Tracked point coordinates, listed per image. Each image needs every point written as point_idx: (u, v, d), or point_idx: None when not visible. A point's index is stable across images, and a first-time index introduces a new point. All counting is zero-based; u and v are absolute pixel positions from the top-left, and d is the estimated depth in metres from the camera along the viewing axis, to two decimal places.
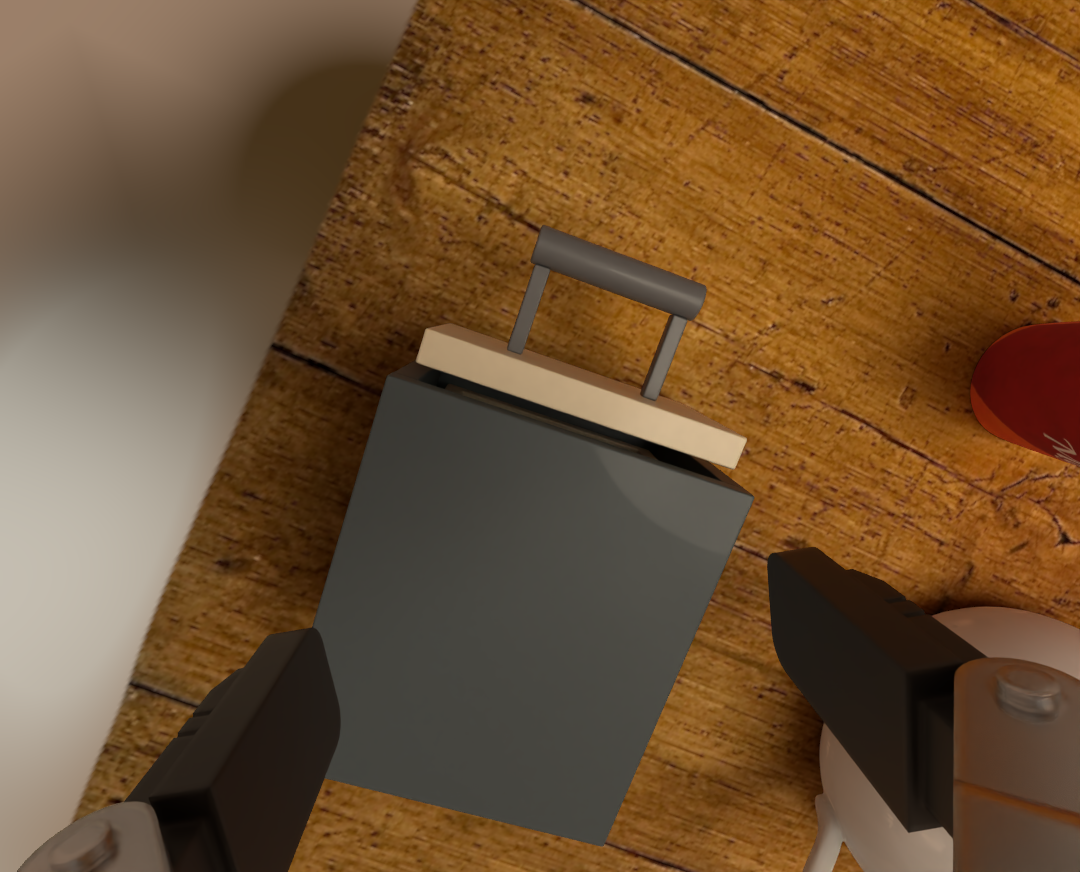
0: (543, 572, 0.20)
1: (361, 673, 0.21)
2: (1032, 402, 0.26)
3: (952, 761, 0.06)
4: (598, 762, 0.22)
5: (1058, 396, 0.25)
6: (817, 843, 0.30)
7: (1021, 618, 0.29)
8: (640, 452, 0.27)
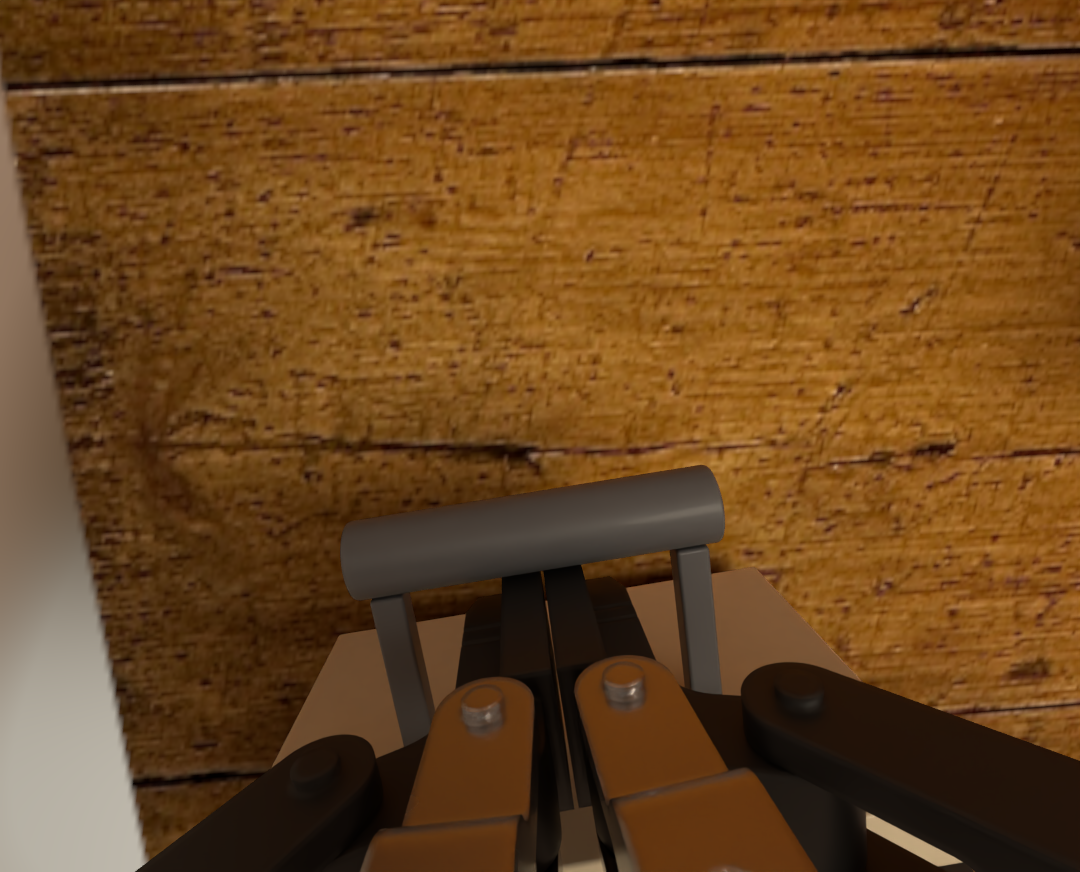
0: None
1: None
2: None
3: (587, 772, 0.07)
4: None
5: None
6: None
7: None
8: None
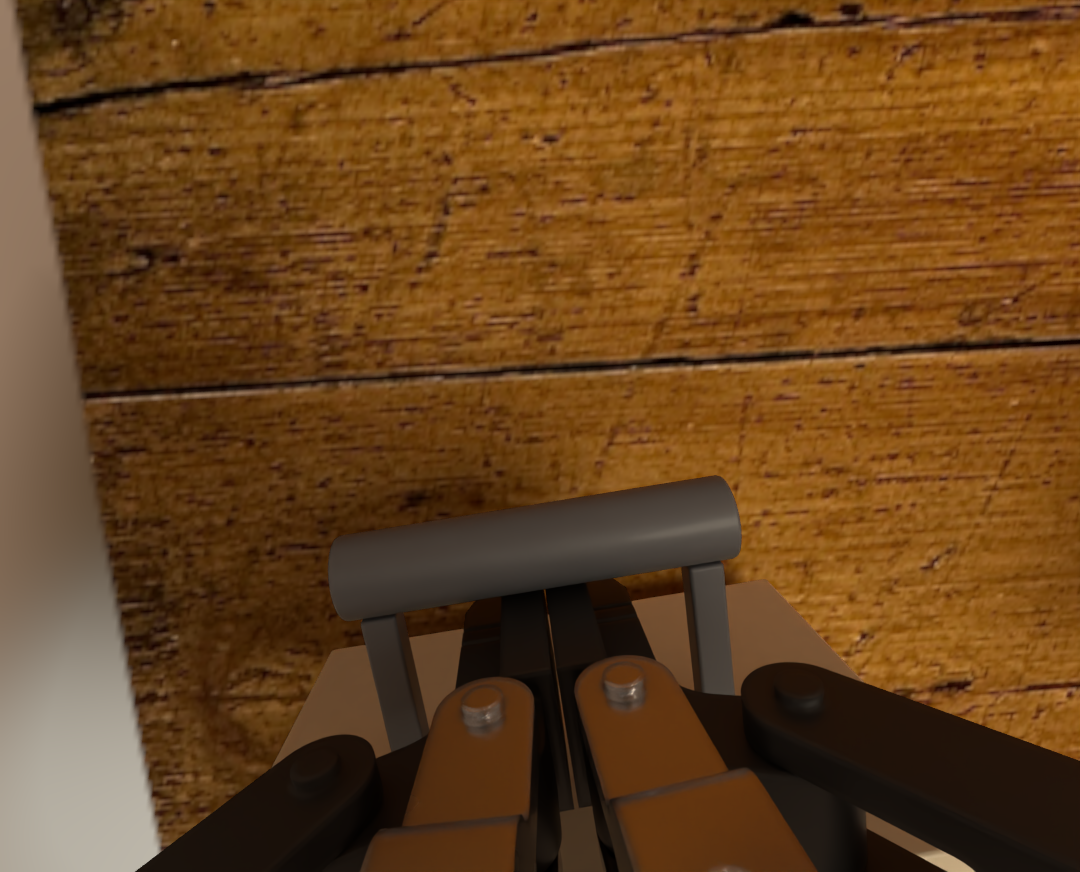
0: None
1: None
2: None
3: (587, 772, 0.07)
4: None
5: None
6: None
7: None
8: None
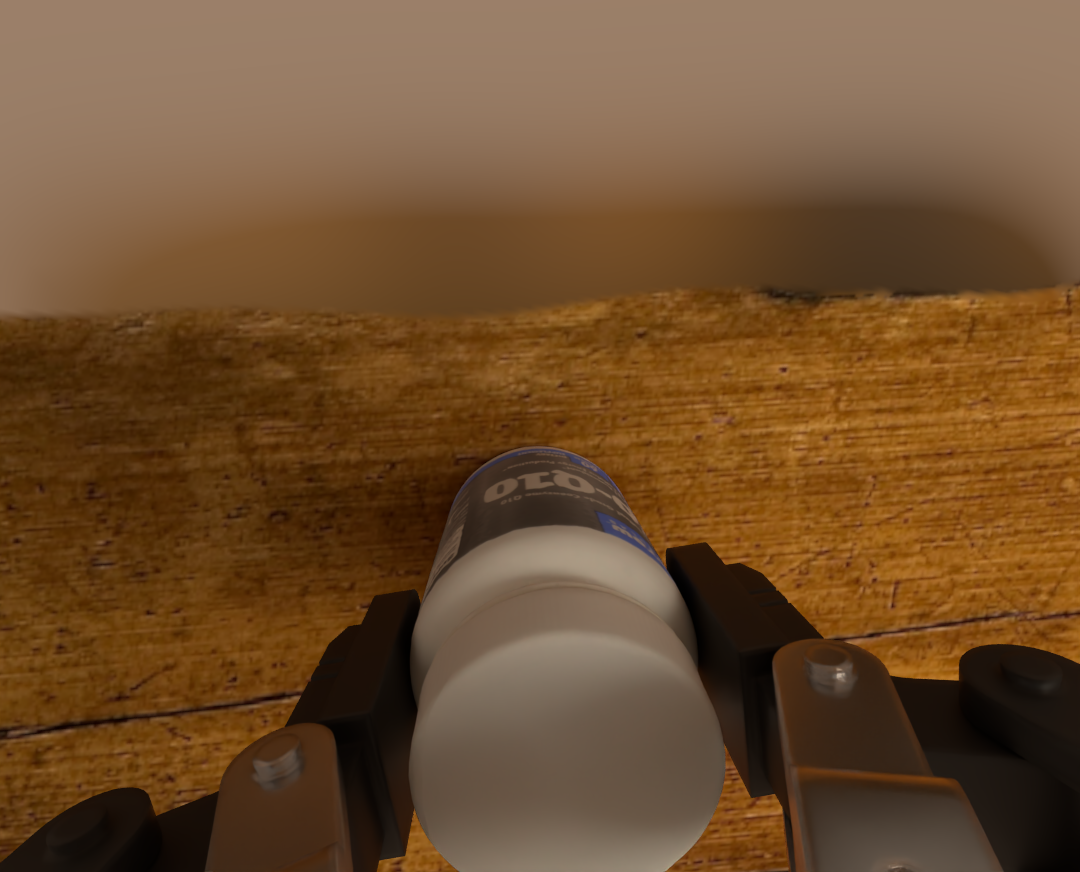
0: None
1: None
2: None
3: (777, 742, 0.07)
4: None
5: None
6: None
7: None
8: None
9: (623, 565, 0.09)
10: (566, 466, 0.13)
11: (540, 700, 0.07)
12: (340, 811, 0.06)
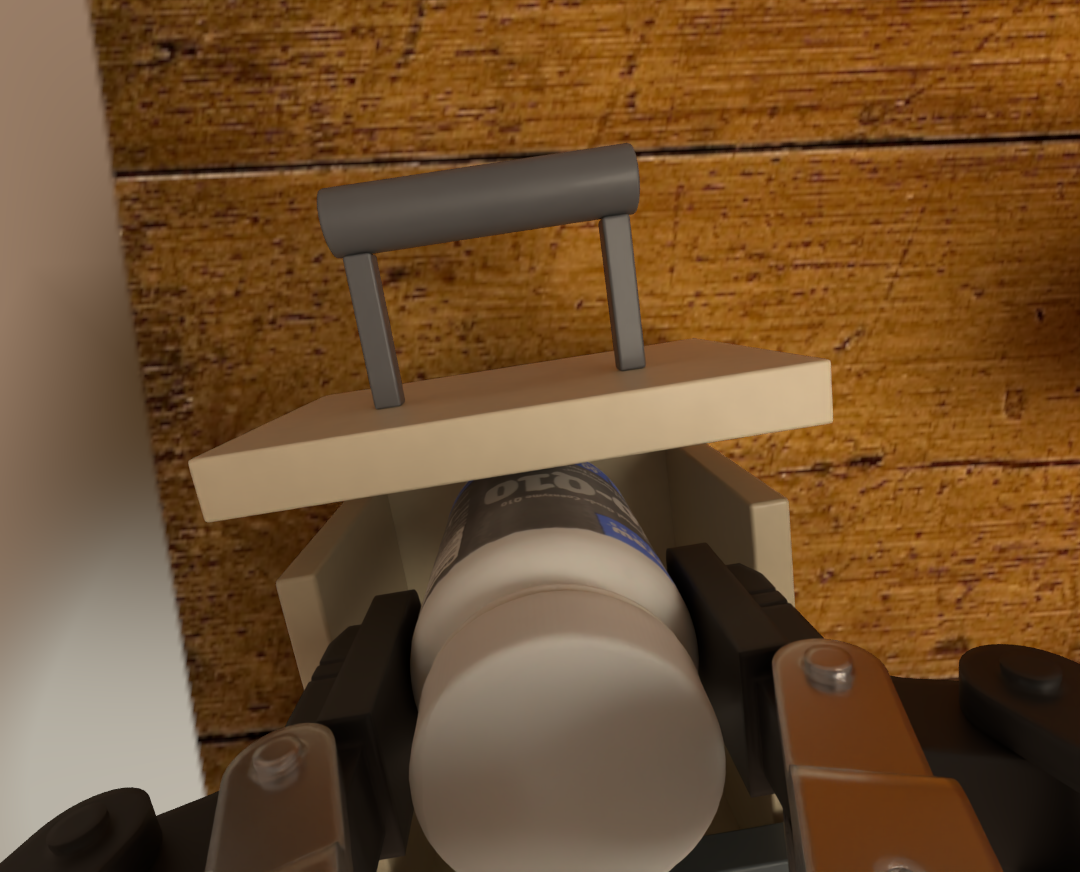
0: None
1: None
2: None
3: (777, 742, 0.07)
4: None
5: None
6: None
7: None
8: None
9: (623, 568, 0.09)
10: (566, 468, 0.13)
11: (540, 702, 0.07)
12: (341, 811, 0.06)
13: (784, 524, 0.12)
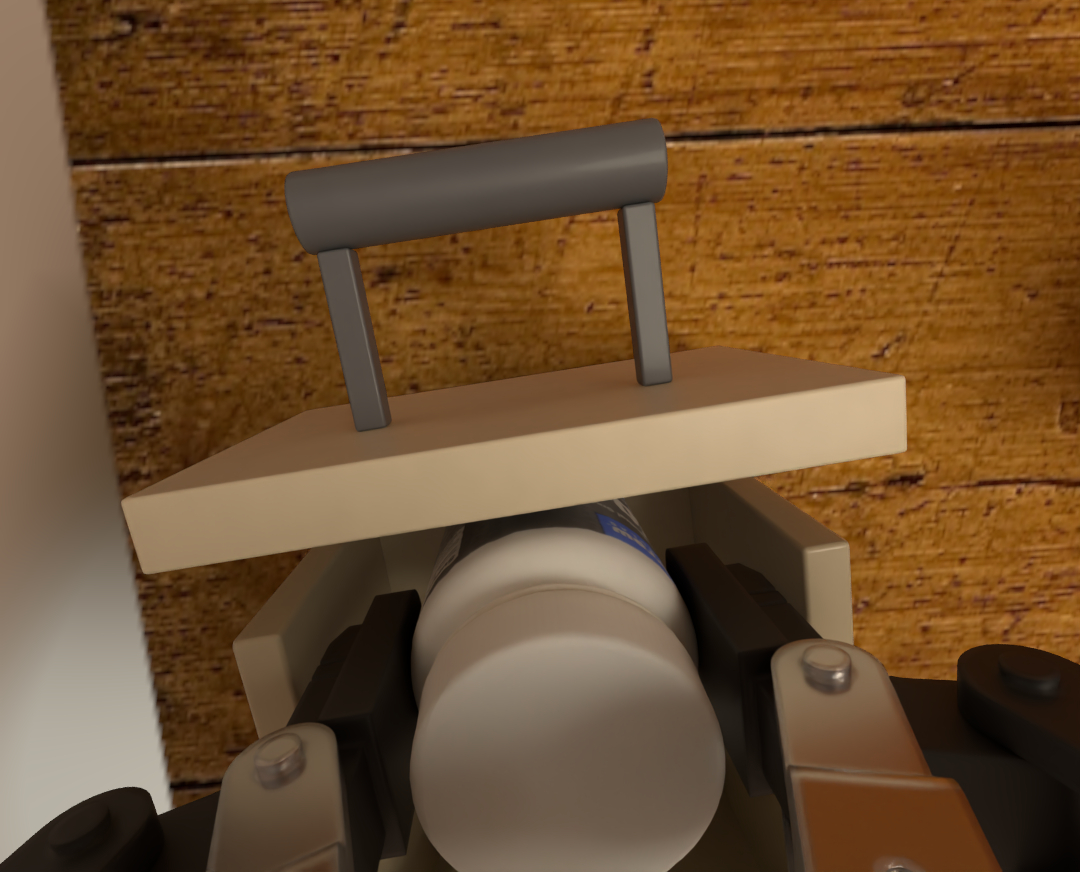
0: None
1: None
2: None
3: (776, 742, 0.07)
4: None
5: None
6: None
7: None
8: None
9: (623, 567, 0.09)
10: None
11: (541, 701, 0.07)
12: (342, 811, 0.06)
13: (844, 572, 0.10)
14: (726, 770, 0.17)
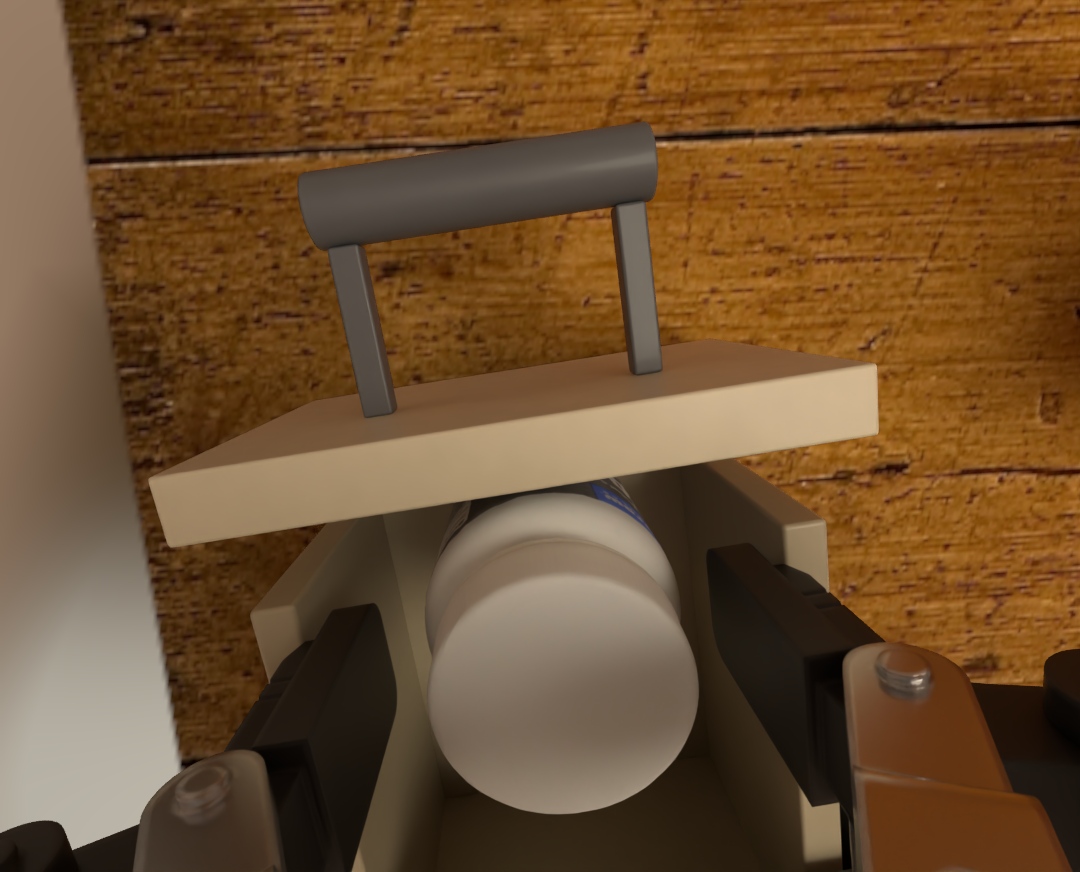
0: None
1: None
2: None
3: (845, 746, 0.07)
4: None
5: None
6: None
7: None
8: None
9: (613, 527, 0.10)
10: None
11: (540, 632, 0.08)
12: (258, 849, 0.06)
13: (821, 547, 0.10)
14: (717, 746, 0.17)
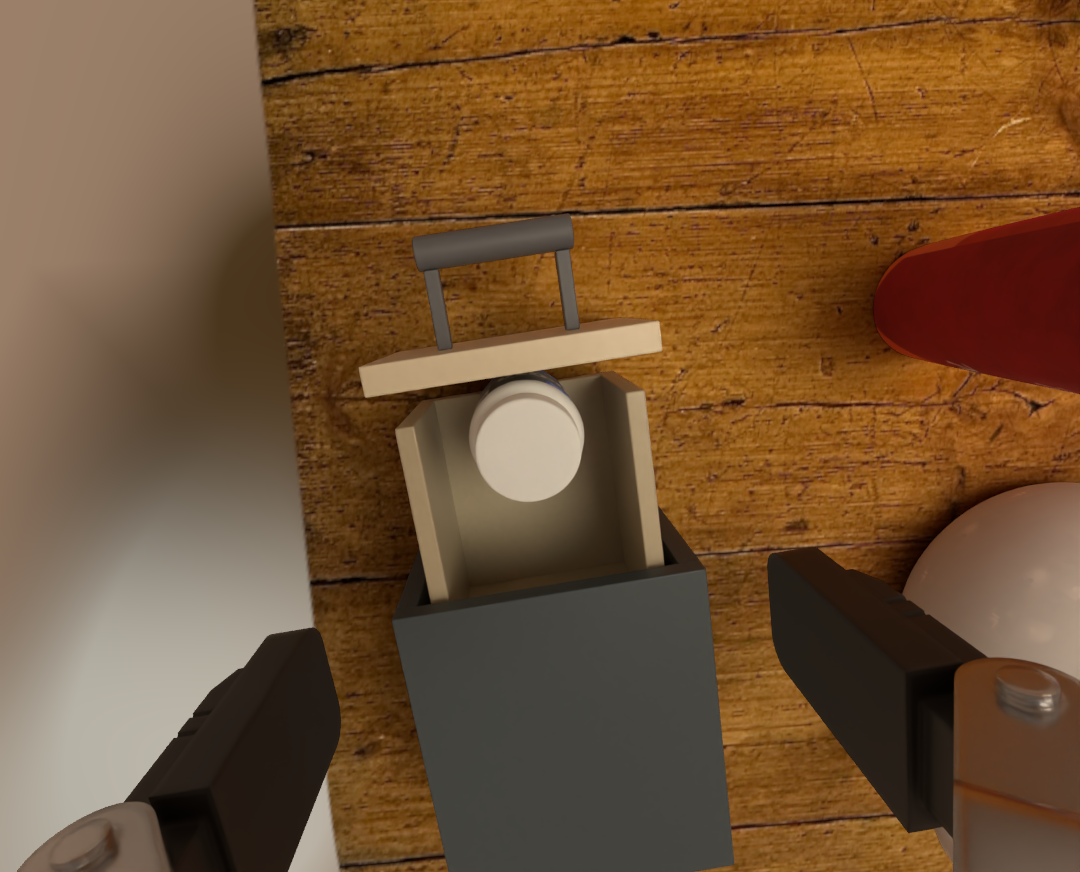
0: (577, 696, 0.25)
1: (485, 824, 0.26)
2: (923, 339, 0.28)
3: (952, 761, 0.06)
4: (695, 807, 0.26)
5: (937, 333, 0.27)
6: None
7: (1019, 502, 0.31)
8: (602, 376, 0.29)
9: (551, 392, 0.23)
10: (536, 371, 0.27)
11: (518, 421, 0.21)
12: None
13: (643, 402, 0.23)
14: (625, 549, 0.31)
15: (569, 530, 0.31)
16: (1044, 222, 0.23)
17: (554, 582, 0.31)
